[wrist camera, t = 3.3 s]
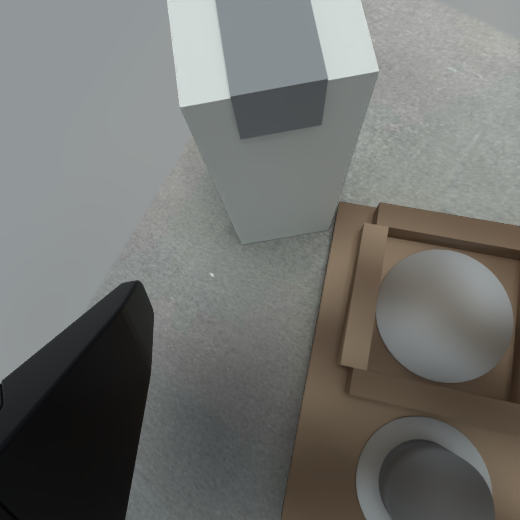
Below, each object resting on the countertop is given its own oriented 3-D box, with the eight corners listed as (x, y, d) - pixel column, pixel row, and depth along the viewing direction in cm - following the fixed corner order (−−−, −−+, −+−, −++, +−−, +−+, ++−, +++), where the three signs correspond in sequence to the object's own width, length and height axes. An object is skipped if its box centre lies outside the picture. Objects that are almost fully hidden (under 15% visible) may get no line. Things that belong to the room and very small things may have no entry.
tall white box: (329, 231, 22) (382, 68, 9) (242, 246, 22) (178, 106, 10) (312, 149, 24) (339, -94, 11) (230, 163, 24) (158, -58, 11)
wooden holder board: (542, 583, 18) (601, 638, 14) (281, 512, 19) (279, 547, 16) (561, 246, 21) (613, 226, 18) (337, 207, 23) (346, 182, 19)
